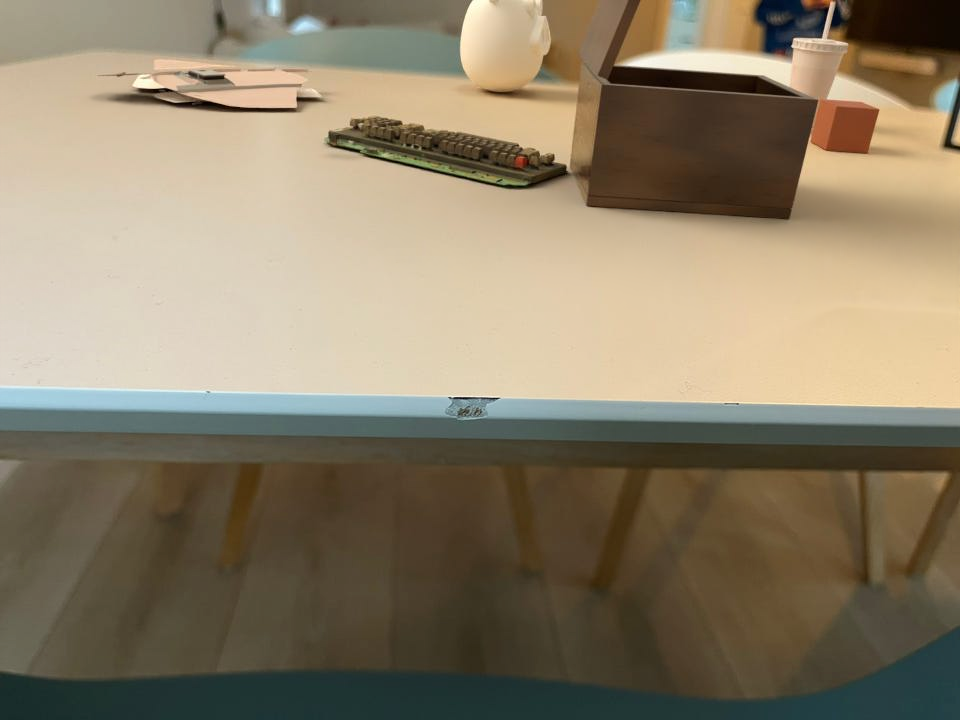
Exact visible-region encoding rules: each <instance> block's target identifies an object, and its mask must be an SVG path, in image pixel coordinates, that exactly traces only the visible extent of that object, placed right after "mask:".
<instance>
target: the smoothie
mask: <svg viewBox="0 0 960 720" xmlns="http://www.w3.org/2000/svg"><path fill="white" fill-rule="evenodd" d="M836 2H837V1H830V3H829V8H828V12H827V15H826V21H825V24H824V29H823V33H822V37H821V38H817V37H816V38H815V37H812V38H809V37H794V38H793V39H792V44H791V46H790V48H792V49H793V51H792V60H791V70H790V78H789V87H790V88H793V89H795V90H797V91H799V92H802V93H804V94H806V95H808V96H811V97H813V98H815V99H818V104H817V108H816V112H815V116H814V121H813V125H812V128H814V124H815V120H816V116H817V112H818V108H819V104H820V100H821V99H826V100H828V97H829V94H830V92H831V89H832V86H833V84H834V81H835V78H836V76H837V72H838V71H839V68H840V65H841V62H842V60H843V57H844V55H845V54H847V53H848V48H849V43H847V42H844V41H838V40H835V39H831V38H830V39H829V38H828V37H829V32H830V27H831V24H832V20H833V16H834V11H835V8H836Z"/></svg>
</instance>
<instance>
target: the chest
mask: <svg viewBox="0 0 960 720" xmlns="http://www.w3.org/2000/svg"><path fill="white" fill-rule="evenodd" d="M817 104H818V99H815V98H813V97H811V96H808V95H806V94H804V93H802V92H799V91H797V90H795V89H793V88H790V86H788V85H786V84H784V83H781V82H780V81H777V80H774V79H772V78H770V77H768V76H766V75H763V74H750V73H749V74H747V73H733V72H723V71H722V72H721V71H720V72H719V71H708V70H707V71H706V70H693V69H692V70H691V69H681V68H680V69H678V68H665V67H649V66H637V65H623V64H622V65H621V64H614V66H613V68H612V71H611V73H610V75H609V78H608V79H604V78H602V77H599V76H597V74H596V73H595V72H594V71H593V70H592V69H591V68H590V67H589V66H588V65H587V64H586V63H585V62H581V65H580V74H579V82H578V91H577V99H576V108H575V117H574V126H573V134H572V142H571V151H570V159H569V167H570V170H571V172H572V175H573V178H574V179H575V182H576V184H577V187H578V189H579V192H580V194H581V196H582V198H583V200H584V203H585V205H586V206H587V207H601V208H602V207H603V208H617V209H630V210H632V209H633V210H645V211H647V210H648V211H661V212H678V213H693V214H707V215H724V216H738V217H754V218H767V219H768V218H770V219H782V220H783V219H785V220H790V218H791V214H792V209H793V207H794V202H795V199H796V195H797V191H798V187H799V183H800V179H801V175H802V170H803V166H804V161H805V157H806V154H807V149H808V145H809V141H810V138H811V134H812V133H811V132H812V130H813V129H812V128H813V127H812V125H813V121H814V116H815V112H816V108H817Z"/></svg>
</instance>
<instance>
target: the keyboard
mask: <svg viewBox="0 0 960 720" xmlns="http://www.w3.org/2000/svg"><path fill="white" fill-rule="evenodd" d="M327 134H328V135H327V137H325V138H324V139H323V140H324V141H325V142H326V144H328V145H330V146H335V147H340V148H344V149H348V150H349V149H350V150H356V151H359V153H361V154H363V155H367V156H370V157H376V158H380V159H383V160H391V161H392V162H397V163H401V164H406V165H409V166H416V167H420V168H422V169H426V170H433V171H436V172H440V173H444V174H448V175H453V176H457V177H460V178H466V179H470V180H475V181H479V182H483V183H486V184H487V183H488V184H492V185H498V186H502V187H524V188H528V187H529V186H531V185H533V184H536V183H539V182H541V181H544V180H547V179H551V178H553V177H557V176H560V175H565V174H567V173H569V172H570V171H569V170H567V168H568V166H567V164H565V163H562V162H561V163H560V162H555V160H556V159H555V158H556V157H555V153H552V152H547V153H545V154H541V153H540V150H536V148H533V147H526V148H525V147H524V148H523V147H522V146H520V144H519V143H518V142H513V141H506V140H501V139H496V138H491V137H486V136H482V135H477V134H471V133H466V132H462V131H456V132H455V131H452V130H450V131H448V129H447V130H446V129H440V130H438V129H433V128H430V129H429V128H428V129H425V126H424V125H423V124H419V123H414V122H411V123H405V124H403V121H402V120H399V119H396V118H395V119H394V118H388V117H382V116H378V115H373V116H368V117H362V118H353V117H351V118H350V120H349V127H348V126H347V127H341V128H336V129H330V130H328V133H327Z"/></svg>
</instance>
